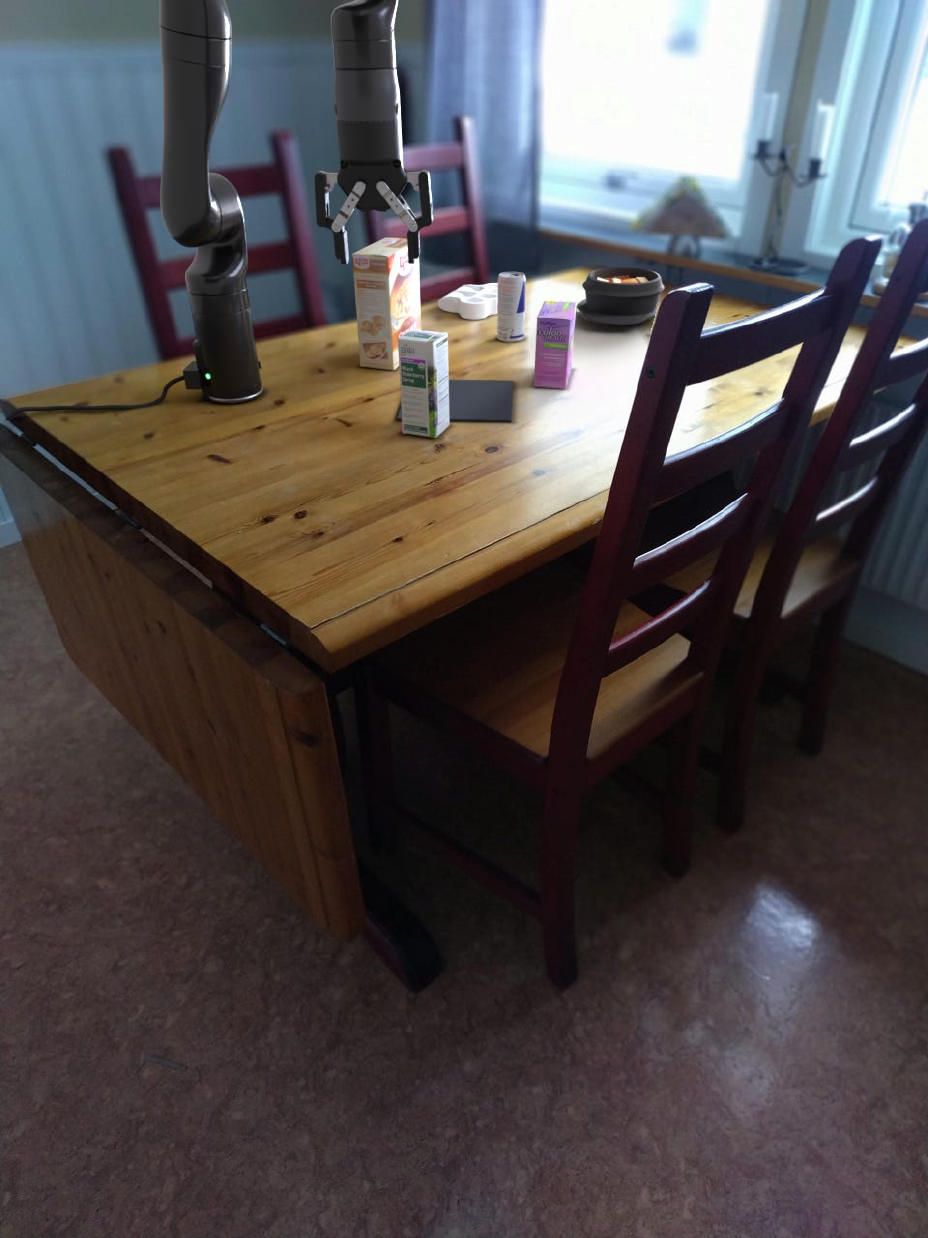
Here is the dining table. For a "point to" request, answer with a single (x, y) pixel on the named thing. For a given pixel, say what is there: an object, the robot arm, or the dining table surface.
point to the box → (554, 344)
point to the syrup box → (424, 382)
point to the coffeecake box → (385, 300)
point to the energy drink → (511, 306)
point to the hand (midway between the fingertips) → (378, 262)
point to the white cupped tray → (472, 301)
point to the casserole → (621, 295)
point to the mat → (479, 401)
